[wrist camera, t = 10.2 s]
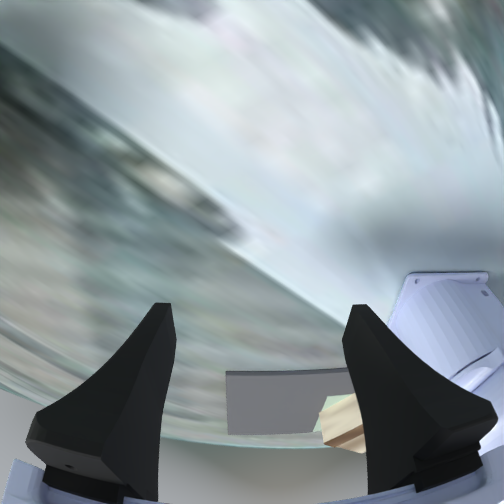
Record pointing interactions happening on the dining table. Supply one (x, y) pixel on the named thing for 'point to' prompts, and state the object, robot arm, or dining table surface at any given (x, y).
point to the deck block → (343, 425)
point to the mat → (282, 399)
